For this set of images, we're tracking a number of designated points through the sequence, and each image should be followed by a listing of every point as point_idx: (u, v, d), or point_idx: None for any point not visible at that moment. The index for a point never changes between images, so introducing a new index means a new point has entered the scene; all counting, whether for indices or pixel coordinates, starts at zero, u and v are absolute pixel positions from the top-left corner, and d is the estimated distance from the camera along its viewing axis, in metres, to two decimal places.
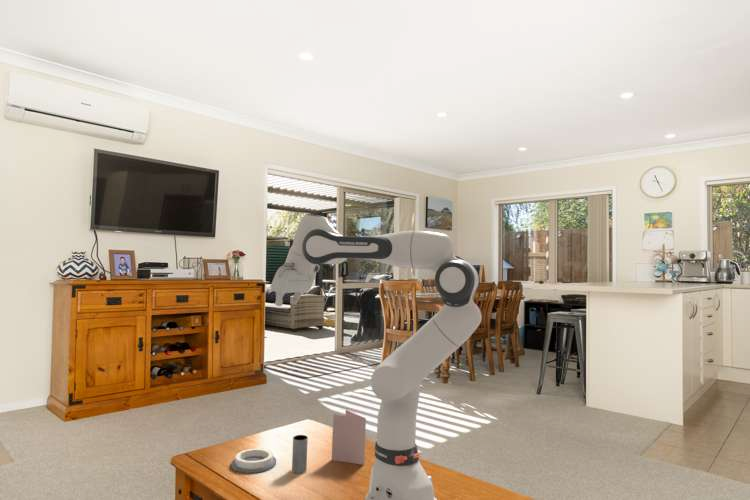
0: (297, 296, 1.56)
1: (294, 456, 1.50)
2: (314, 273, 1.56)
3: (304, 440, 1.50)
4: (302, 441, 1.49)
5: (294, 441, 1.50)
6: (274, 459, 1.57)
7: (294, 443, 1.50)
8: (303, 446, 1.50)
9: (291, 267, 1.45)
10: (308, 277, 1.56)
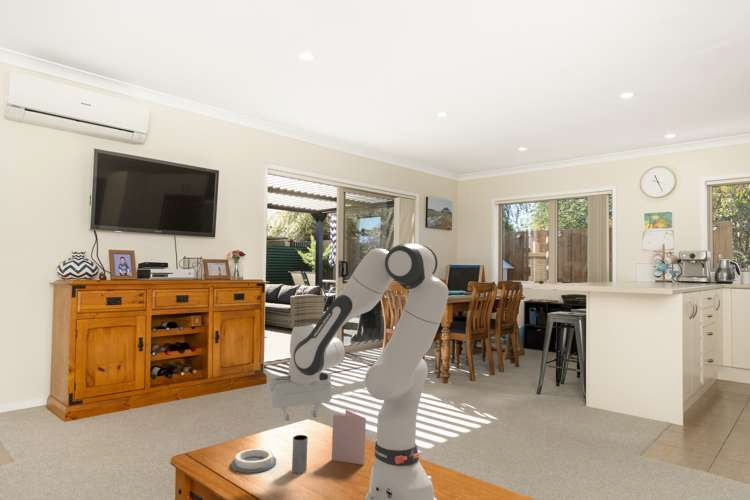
0: (316, 408, 1.54)
1: (294, 456, 1.50)
2: (325, 382, 1.54)
3: (304, 440, 1.50)
4: (302, 441, 1.49)
5: (294, 441, 1.50)
6: (274, 459, 1.57)
7: (294, 443, 1.50)
8: (303, 446, 1.50)
9: (287, 380, 1.49)
10: (321, 387, 1.54)
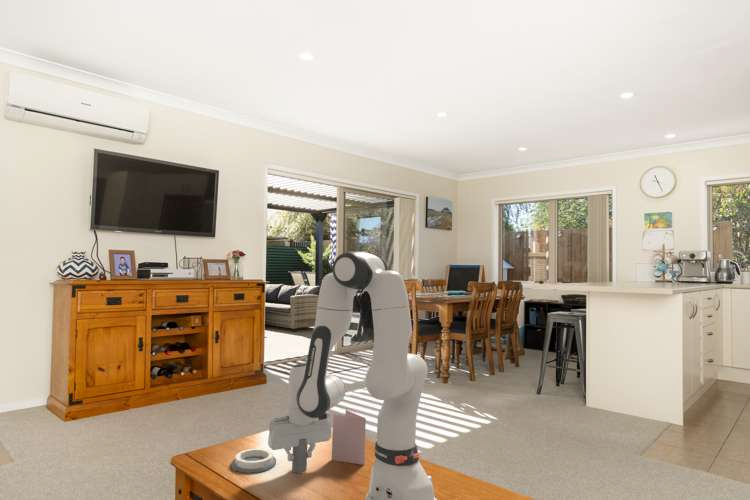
0: (310, 448, 1.53)
1: (294, 456, 1.50)
2: (324, 421, 1.53)
3: (304, 440, 1.50)
4: (302, 441, 1.49)
5: None
6: (274, 459, 1.57)
7: None
8: (303, 446, 1.50)
9: (285, 421, 1.49)
10: (320, 426, 1.53)
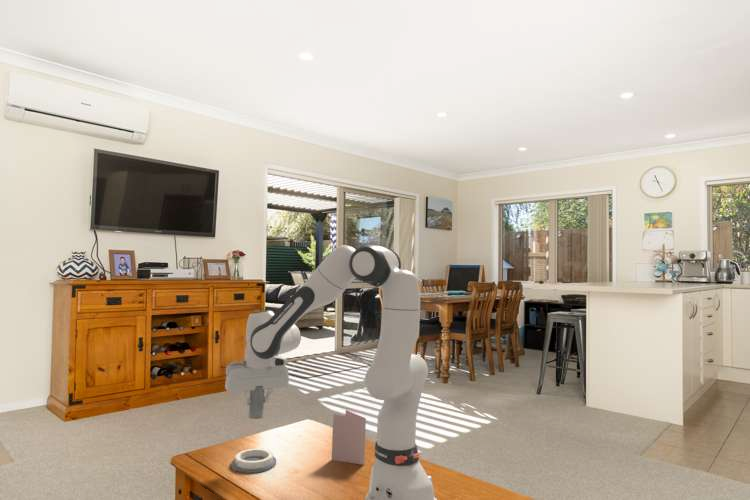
0: (268, 394, 1.57)
1: (251, 402, 1.54)
2: (281, 367, 1.57)
3: (261, 387, 1.54)
4: (258, 388, 1.54)
5: None
6: (274, 459, 1.57)
7: (251, 390, 1.54)
8: (259, 393, 1.54)
9: (242, 365, 1.53)
10: (277, 372, 1.58)
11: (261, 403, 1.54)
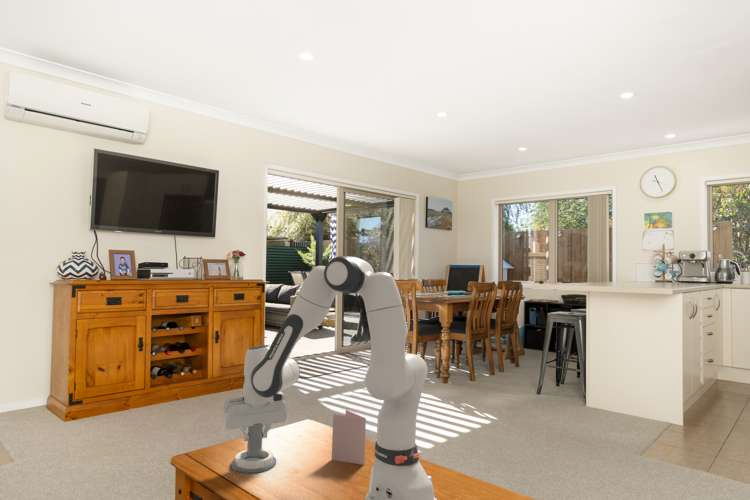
0: (266, 429, 1.57)
1: (249, 440, 1.53)
2: (280, 402, 1.57)
3: (259, 424, 1.54)
4: (257, 425, 1.53)
5: None
6: (274, 459, 1.57)
7: (249, 427, 1.54)
8: (258, 430, 1.54)
9: (240, 401, 1.53)
10: (276, 407, 1.57)
11: (259, 440, 1.54)
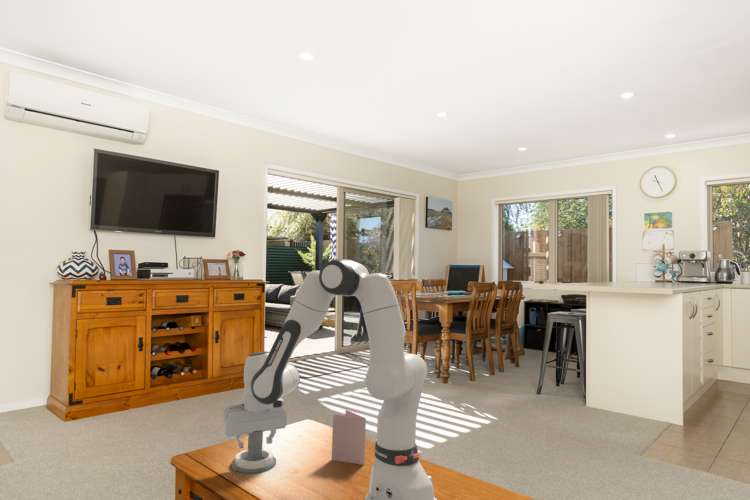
0: (271, 435, 1.57)
1: (249, 447, 1.53)
2: (280, 409, 1.57)
3: (259, 432, 1.54)
4: (257, 433, 1.53)
5: (249, 433, 1.54)
6: (274, 459, 1.57)
7: (249, 435, 1.54)
8: (258, 437, 1.53)
9: (240, 408, 1.52)
10: (275, 414, 1.57)
11: (259, 448, 1.54)
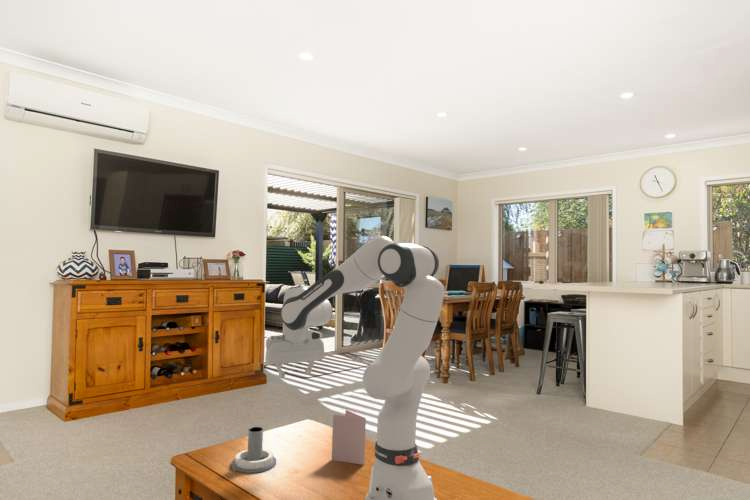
0: (310, 366, 1.65)
1: (249, 447, 1.53)
2: (317, 341, 1.64)
3: (259, 432, 1.54)
4: (257, 433, 1.53)
5: (249, 433, 1.54)
6: (274, 459, 1.57)
7: (249, 435, 1.54)
8: (258, 437, 1.53)
9: (281, 339, 1.60)
10: (313, 346, 1.65)
11: (259, 448, 1.54)
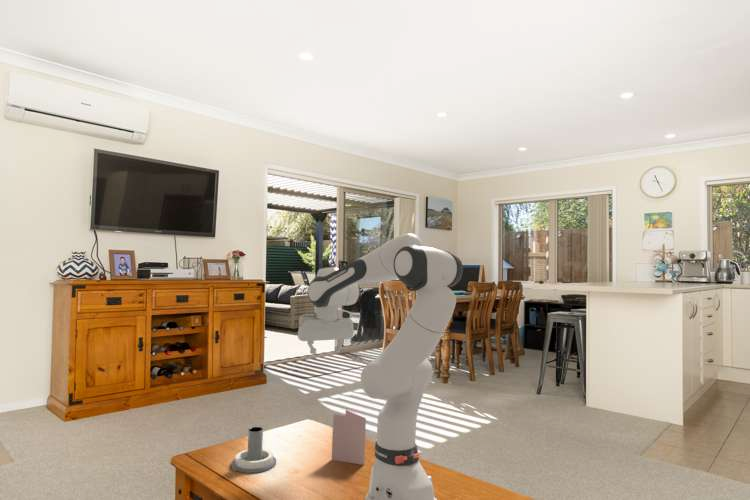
0: (339, 344, 1.71)
1: (249, 447, 1.53)
2: (347, 320, 1.70)
3: (259, 432, 1.54)
4: (257, 433, 1.53)
5: (249, 433, 1.54)
6: (274, 459, 1.57)
7: (249, 435, 1.54)
8: (258, 437, 1.53)
9: (313, 317, 1.66)
10: (343, 325, 1.71)
11: (259, 448, 1.54)
